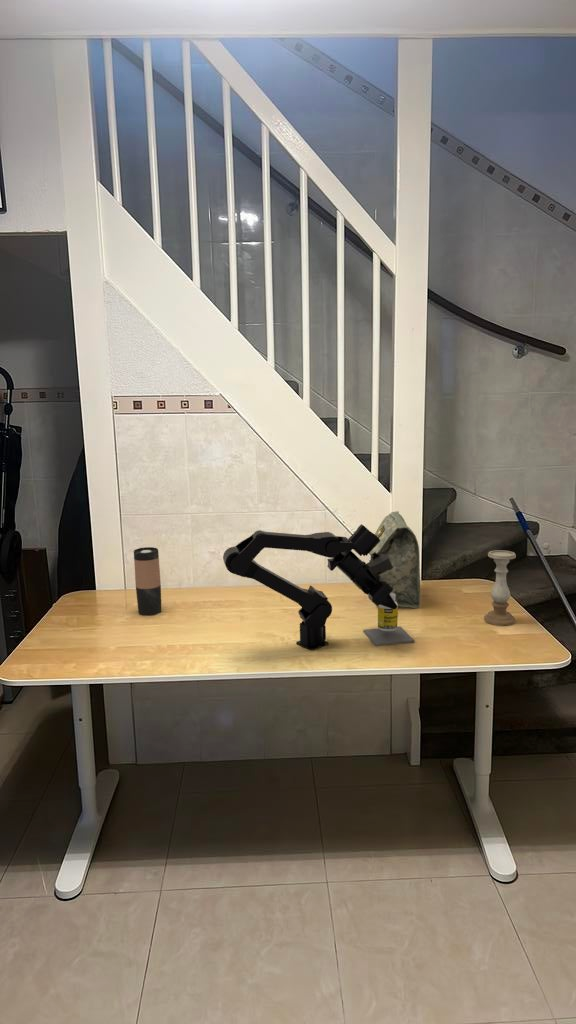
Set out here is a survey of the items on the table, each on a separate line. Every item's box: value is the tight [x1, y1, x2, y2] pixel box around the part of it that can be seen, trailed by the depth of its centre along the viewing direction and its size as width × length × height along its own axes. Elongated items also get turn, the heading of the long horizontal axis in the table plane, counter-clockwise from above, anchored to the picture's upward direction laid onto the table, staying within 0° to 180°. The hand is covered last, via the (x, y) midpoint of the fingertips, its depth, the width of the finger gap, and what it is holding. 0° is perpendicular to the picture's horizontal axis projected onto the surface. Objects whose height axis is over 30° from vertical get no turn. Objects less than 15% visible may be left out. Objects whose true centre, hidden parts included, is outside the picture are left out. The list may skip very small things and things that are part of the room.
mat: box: [363, 625, 415, 647], centre depth 190 cm, size 11×11×1 cm
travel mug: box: [133, 546, 162, 617], centre depth 215 cm, size 8×8×20 cm
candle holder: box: [483, 549, 517, 627], centre depth 199 cm, size 9×9×20 cm
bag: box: [368, 510, 421, 609], centre depth 221 cm, size 22×16×27 cm
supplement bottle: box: [377, 593, 399, 631], centre depth 189 cm, size 5×5×10 cm
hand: (392, 604), depth 189 cm, fingers closed on supplement bottle, 5 cm apart
